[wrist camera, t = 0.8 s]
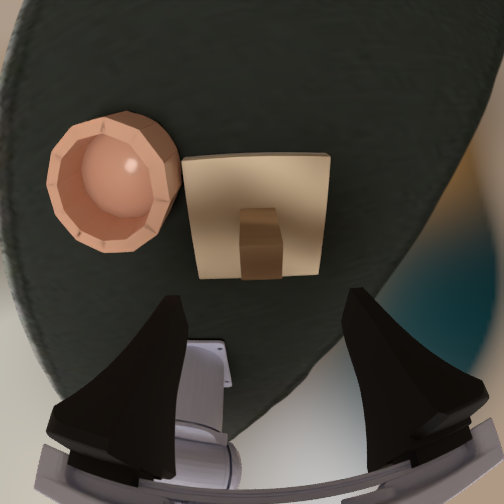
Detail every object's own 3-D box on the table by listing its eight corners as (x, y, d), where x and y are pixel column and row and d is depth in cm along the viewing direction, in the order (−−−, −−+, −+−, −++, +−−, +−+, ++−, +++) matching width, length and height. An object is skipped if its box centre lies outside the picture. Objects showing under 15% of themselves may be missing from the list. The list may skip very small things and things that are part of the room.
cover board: (316, 269, 21) (331, 316, 17) (200, 274, 21) (191, 322, 17) (327, 154, 16) (356, 180, 12) (183, 158, 16) (161, 185, 12)
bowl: (189, 222, 19) (179, 249, 16) (90, 229, 19) (69, 254, 16) (174, 101, 14) (157, 105, 11) (66, 127, 14) (36, 139, 11)
